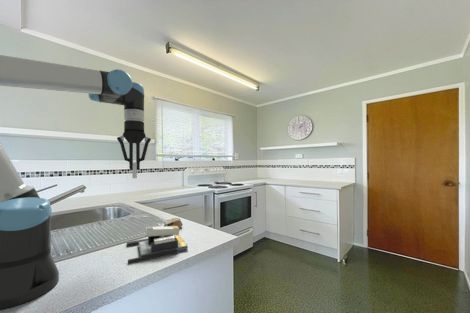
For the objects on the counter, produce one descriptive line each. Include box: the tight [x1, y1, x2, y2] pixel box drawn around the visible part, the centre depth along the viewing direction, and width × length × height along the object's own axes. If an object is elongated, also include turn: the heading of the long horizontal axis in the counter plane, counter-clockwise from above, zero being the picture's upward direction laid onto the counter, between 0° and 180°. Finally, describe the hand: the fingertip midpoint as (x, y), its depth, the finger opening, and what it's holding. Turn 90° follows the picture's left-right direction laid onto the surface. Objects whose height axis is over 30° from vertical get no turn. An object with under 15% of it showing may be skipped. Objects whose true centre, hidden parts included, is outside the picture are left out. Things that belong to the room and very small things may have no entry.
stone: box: [163, 217, 183, 229], centre depth 107 cm, size 8×10×4 cm
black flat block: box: [137, 234, 189, 257], centre depth 82 cm, size 16×13×5 cm
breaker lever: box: [144, 225, 180, 237], centre depth 82 cm, size 12×3×3 cm, turn 118°
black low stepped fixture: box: [126, 237, 178, 265], centre depth 82 cm, size 18×18×1 cm
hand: (134, 177), depth 89 cm, fingers closed
